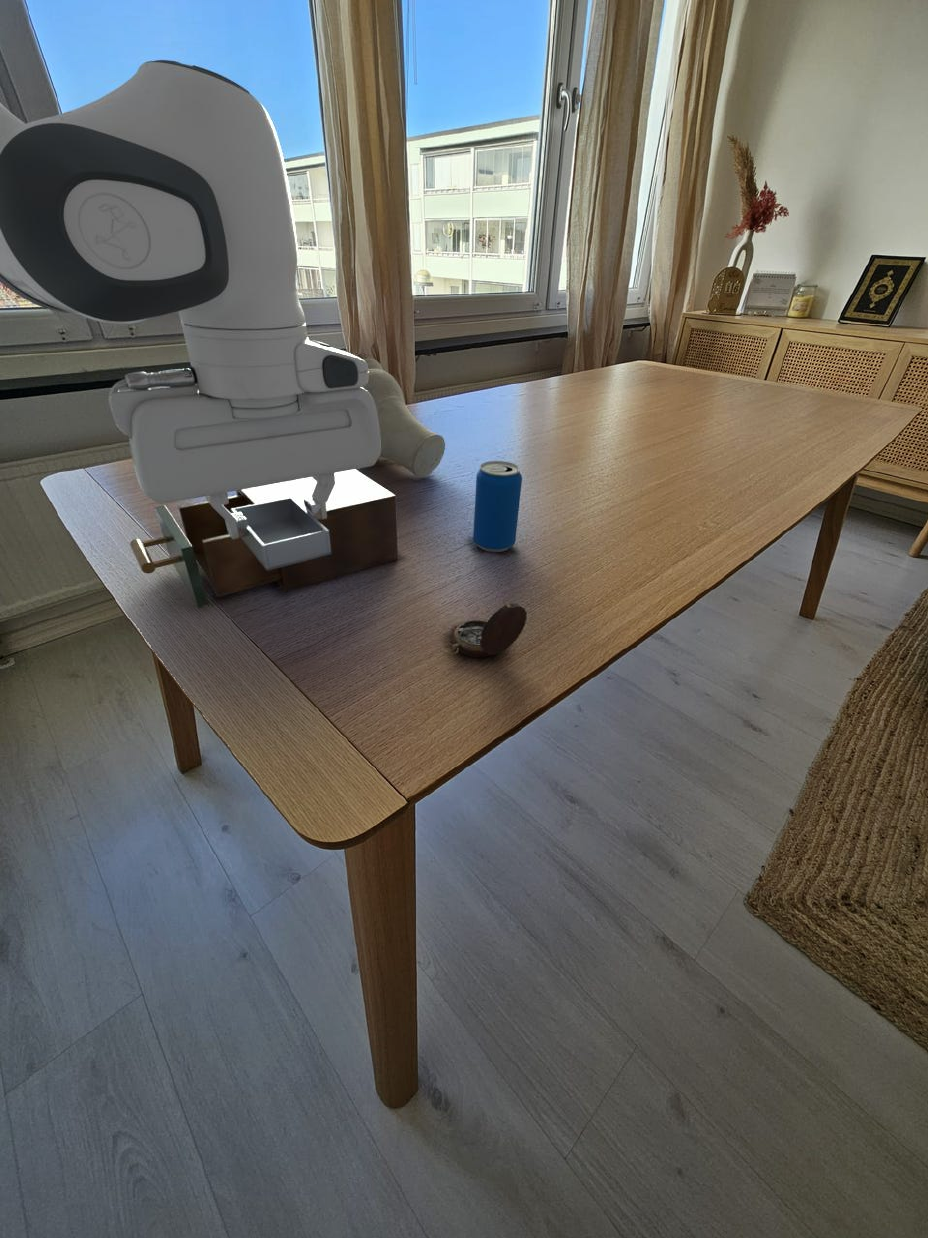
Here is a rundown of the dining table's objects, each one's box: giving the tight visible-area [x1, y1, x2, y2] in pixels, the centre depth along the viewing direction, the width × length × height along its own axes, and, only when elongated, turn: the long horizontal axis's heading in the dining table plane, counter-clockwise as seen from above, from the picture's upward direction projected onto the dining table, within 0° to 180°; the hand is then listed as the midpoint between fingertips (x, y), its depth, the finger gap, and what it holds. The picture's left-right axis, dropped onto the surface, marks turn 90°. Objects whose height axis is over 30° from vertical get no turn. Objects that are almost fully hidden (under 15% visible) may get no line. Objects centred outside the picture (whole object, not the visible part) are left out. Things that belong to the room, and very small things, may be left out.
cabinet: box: [235, 469, 399, 593], centre depth 74 cm, size 17×15×10 cm
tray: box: [231, 497, 331, 571], centre depth 50 cm, size 6×9×2 cm, turn 36°
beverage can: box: [472, 460, 523, 553], centre depth 78 cm, size 6×6×12 cm
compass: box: [441, 601, 528, 658], centre depth 58 cm, size 8×8×7 cm
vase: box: [362, 358, 446, 479], centre depth 103 cm, size 22×22×28 cm
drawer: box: [129, 494, 281, 609], centre depth 68 cm, size 20×13×8 cm
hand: (279, 526), depth 50 cm, fingers closed on tray, 6 cm apart
